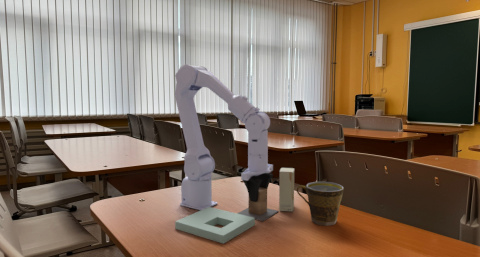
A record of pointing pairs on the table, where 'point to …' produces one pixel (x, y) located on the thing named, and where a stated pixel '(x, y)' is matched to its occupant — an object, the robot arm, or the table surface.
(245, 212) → the rubber mat
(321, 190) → the ceramic cup
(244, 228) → the pocket board
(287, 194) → the skincare box
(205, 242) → the table surface
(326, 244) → the table surface
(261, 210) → the walnut block
